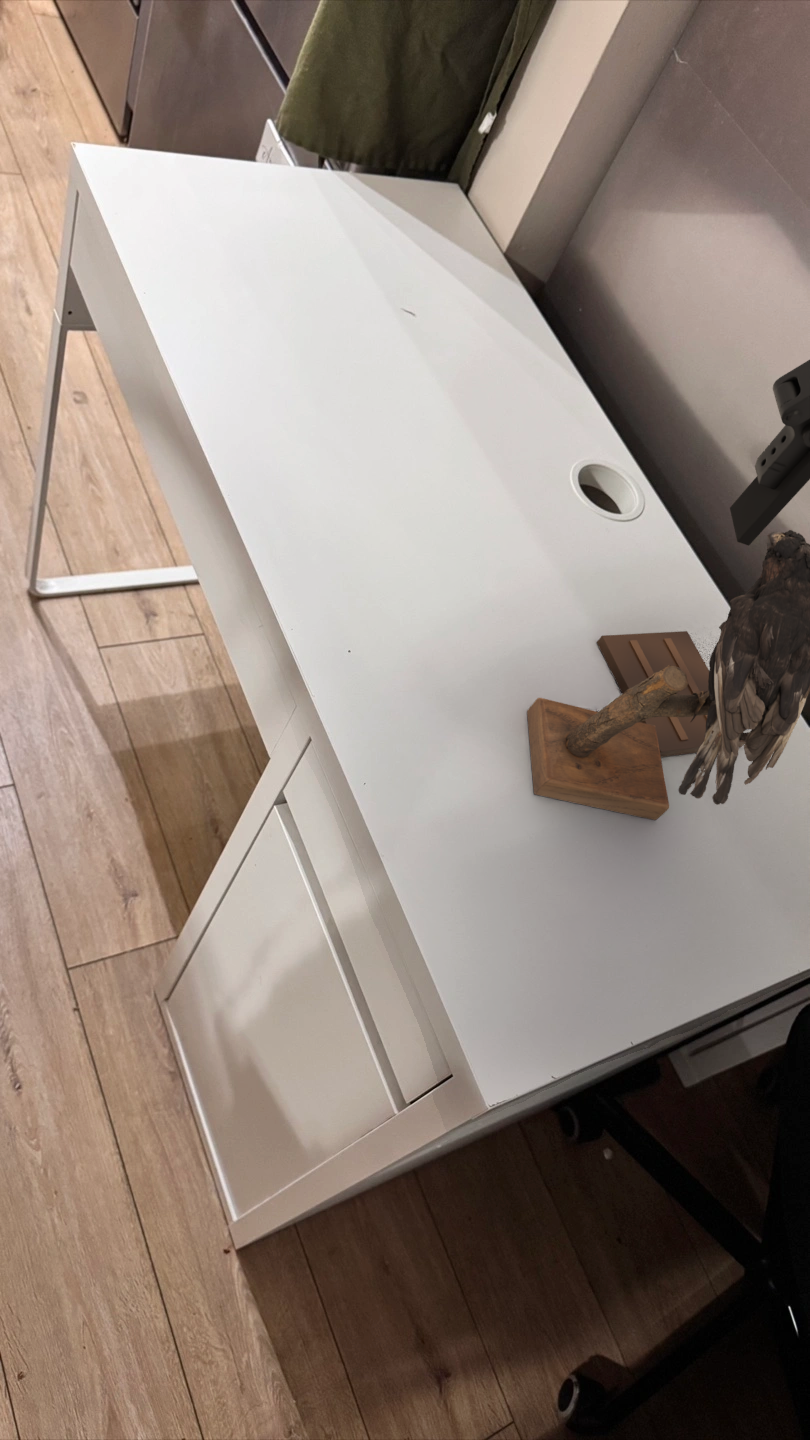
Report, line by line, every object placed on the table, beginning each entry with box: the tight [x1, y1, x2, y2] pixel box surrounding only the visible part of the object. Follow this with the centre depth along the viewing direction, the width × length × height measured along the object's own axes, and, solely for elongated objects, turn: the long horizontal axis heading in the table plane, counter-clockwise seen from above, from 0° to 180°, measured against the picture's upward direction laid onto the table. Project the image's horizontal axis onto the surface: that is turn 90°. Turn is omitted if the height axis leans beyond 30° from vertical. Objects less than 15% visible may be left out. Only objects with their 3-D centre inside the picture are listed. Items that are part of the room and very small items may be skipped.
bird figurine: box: [526, 529, 810, 821], centre depth 69 cm, size 11×14×25 cm
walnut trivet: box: [596, 630, 745, 758], centre depth 88 cm, size 12×10×1 cm
